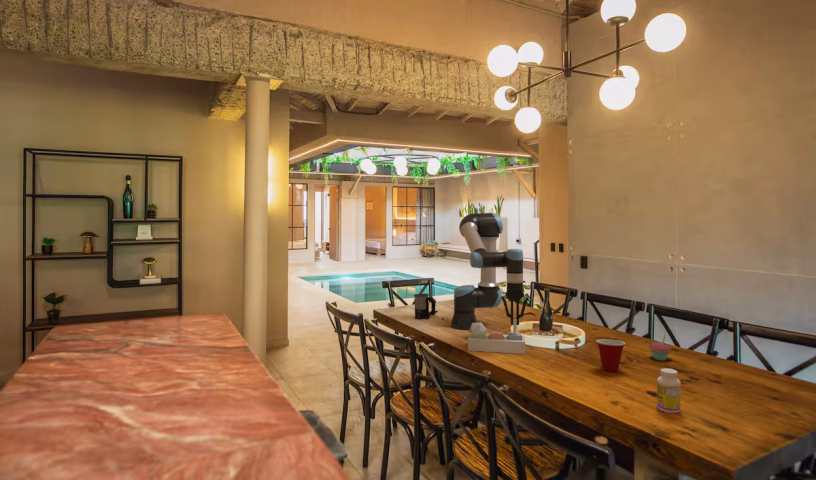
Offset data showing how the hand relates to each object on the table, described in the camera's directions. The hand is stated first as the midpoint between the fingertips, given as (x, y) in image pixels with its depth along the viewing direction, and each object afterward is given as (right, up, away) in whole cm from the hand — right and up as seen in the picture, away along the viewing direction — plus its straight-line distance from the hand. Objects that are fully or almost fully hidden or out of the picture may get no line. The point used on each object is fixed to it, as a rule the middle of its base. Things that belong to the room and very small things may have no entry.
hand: (514, 331), depth 215 cm
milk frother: (-39, -6, +73) cm, 82 cm away
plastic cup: (+32, -10, -29) cm, 44 cm away
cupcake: (+60, -9, -16) cm, 62 cm away
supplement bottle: (+34, -12, -67) cm, 76 cm away
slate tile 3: (0, -5, 0) cm, 5 cm away
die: (-14, -8, +22) cm, 27 cm away
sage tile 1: (-17, -5, +4) cm, 18 cm away
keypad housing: (-8, -9, +2) cm, 12 cm away
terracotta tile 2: (-8, -5, +2) cm, 10 cm away
